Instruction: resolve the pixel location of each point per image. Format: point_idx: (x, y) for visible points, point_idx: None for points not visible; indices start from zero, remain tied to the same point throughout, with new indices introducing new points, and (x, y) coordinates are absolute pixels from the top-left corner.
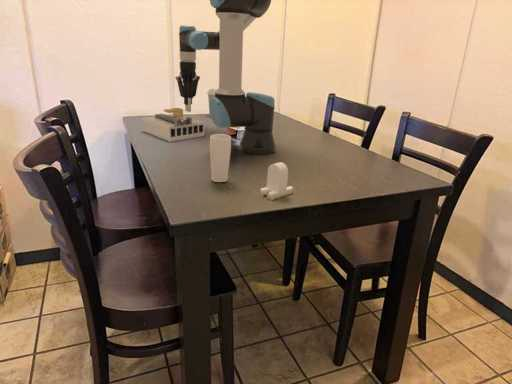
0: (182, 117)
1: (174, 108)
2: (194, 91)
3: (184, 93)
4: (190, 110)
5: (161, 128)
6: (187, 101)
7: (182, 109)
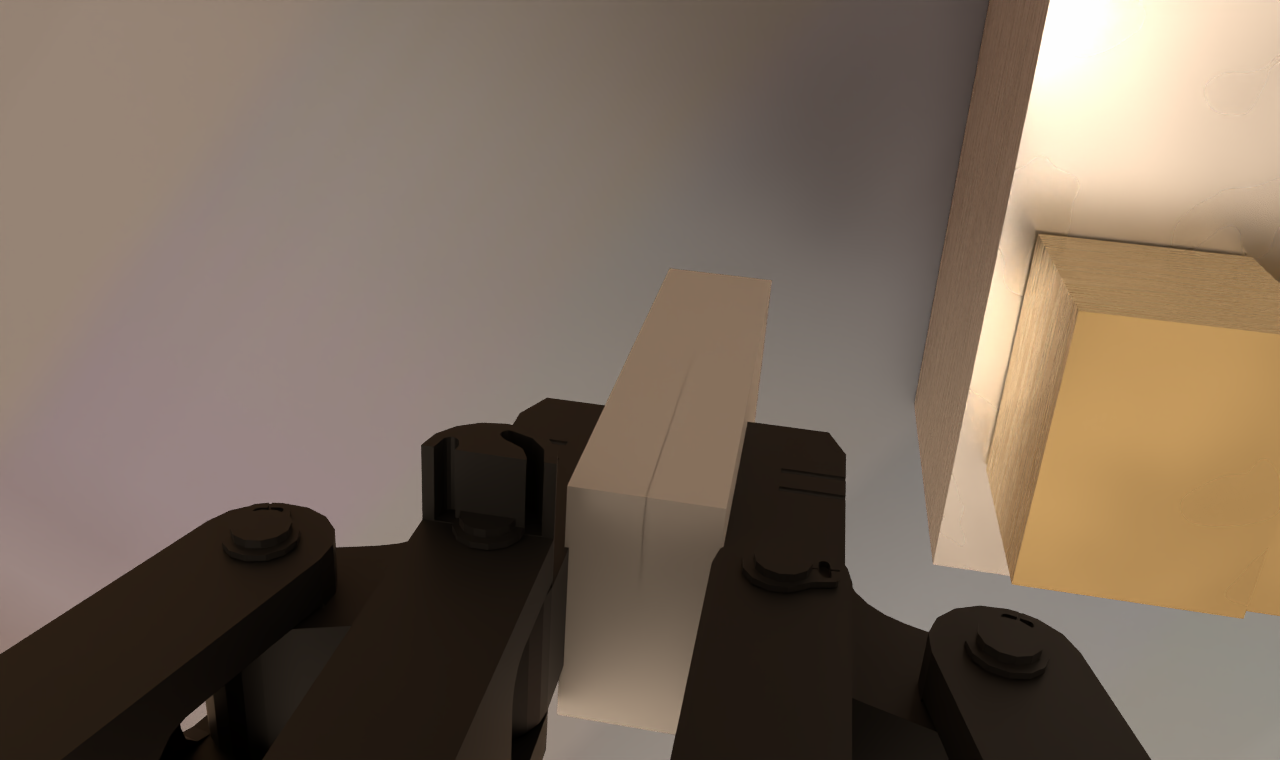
0: (1238, 70)
1: (1250, 553)
2: (160, 673)
3: (1010, 751)
4: (687, 284)
5: None
6: (753, 486)
7: (1104, 306)
